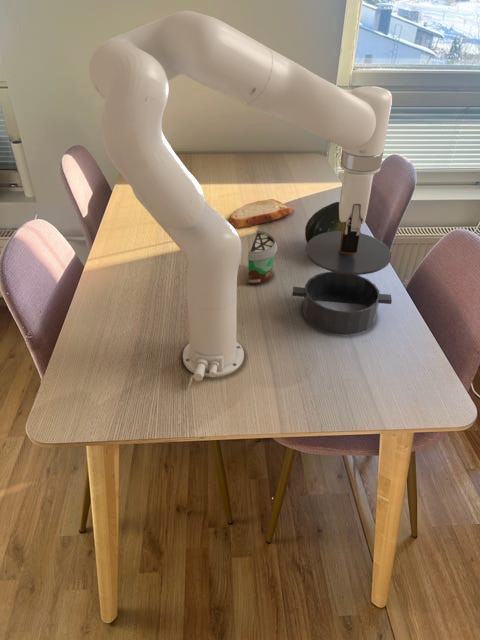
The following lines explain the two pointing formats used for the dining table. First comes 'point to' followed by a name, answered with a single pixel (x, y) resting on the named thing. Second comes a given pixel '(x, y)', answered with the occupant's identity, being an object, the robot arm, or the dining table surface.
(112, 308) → the dining table surface
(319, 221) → the squash
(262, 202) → the bread slice
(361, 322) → the pot
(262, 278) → the food container
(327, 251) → the lid
